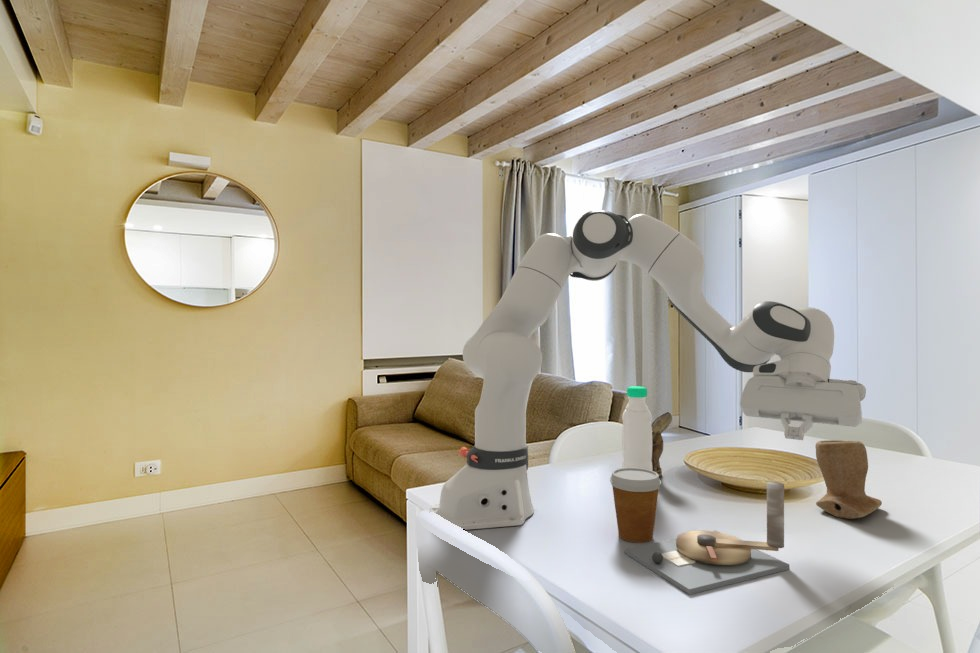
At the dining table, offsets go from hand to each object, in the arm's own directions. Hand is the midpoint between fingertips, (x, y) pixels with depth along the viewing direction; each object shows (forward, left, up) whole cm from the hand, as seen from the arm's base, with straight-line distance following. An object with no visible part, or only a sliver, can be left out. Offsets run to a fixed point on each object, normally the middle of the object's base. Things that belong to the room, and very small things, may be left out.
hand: (793, 437), depth 102 cm
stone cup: (+25, +8, -20) cm, 33 cm away
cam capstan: (-17, -1, -18) cm, 25 cm away
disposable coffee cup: (-25, +14, -20) cm, 35 cm away
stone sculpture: (+3, +45, -20) cm, 49 cm away
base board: (-21, 0, -19) cm, 29 cm away
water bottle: (-7, +37, -19) cm, 42 cm away
